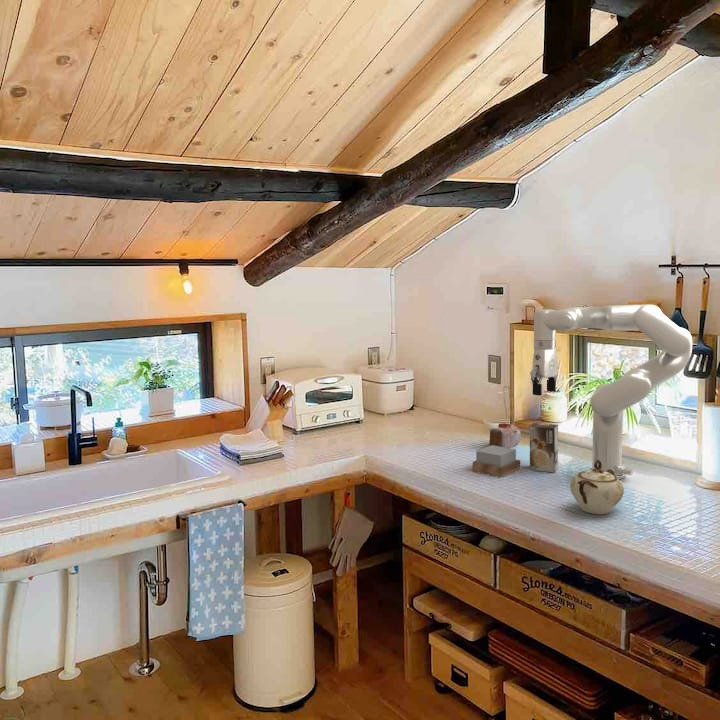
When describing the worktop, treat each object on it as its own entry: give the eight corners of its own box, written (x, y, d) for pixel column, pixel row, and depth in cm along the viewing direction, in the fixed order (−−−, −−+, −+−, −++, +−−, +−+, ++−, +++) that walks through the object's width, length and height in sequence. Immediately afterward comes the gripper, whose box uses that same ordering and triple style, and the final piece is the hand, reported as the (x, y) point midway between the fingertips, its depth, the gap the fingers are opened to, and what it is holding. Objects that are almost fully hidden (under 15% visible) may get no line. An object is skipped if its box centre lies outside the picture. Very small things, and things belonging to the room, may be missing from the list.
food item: (505, 442, 293) (505, 418, 292) (522, 445, 288) (522, 421, 287) (487, 449, 283) (487, 424, 282) (504, 452, 278) (504, 427, 277)
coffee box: (558, 468, 253) (559, 424, 251) (554, 473, 248) (555, 428, 246) (533, 465, 258) (533, 422, 256) (528, 470, 252) (529, 426, 250)
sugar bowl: (589, 496, 222) (590, 449, 220) (635, 506, 212) (637, 458, 210) (556, 512, 209) (557, 462, 207) (604, 524, 198) (605, 472, 196)
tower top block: (515, 460, 252) (515, 449, 252) (500, 466, 245) (500, 455, 244) (491, 455, 259) (491, 445, 258) (476, 461, 252) (476, 451, 251)
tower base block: (520, 471, 253) (520, 460, 252) (501, 479, 244) (501, 467, 244) (491, 465, 261) (491, 454, 260) (472, 472, 252) (472, 461, 252)
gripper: (541, 347, 238) (541, 397, 241) (566, 343, 251) (565, 390, 253) (522, 346, 244) (521, 395, 246) (547, 341, 256) (546, 388, 258)
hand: (544, 393), depth 249 cm, fingers open, 9 cm apart
